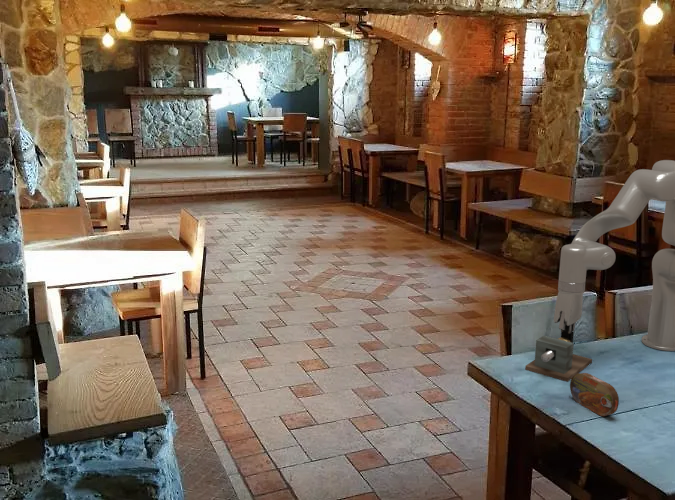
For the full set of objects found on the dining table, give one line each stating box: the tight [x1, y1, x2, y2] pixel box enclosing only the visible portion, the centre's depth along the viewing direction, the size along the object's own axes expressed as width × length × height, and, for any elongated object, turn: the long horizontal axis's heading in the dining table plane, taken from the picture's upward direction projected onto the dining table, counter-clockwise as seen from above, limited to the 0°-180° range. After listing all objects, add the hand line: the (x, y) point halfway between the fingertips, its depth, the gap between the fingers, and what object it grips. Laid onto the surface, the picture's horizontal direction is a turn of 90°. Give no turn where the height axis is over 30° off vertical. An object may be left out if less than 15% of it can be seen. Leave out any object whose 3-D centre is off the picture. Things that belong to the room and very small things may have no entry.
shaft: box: [541, 336, 570, 362], centre depth 199 cm, size 13×5×5 cm, turn 139°
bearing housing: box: [524, 335, 593, 383], centre depth 202 cm, size 18×13×9 cm
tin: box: [569, 372, 620, 417], centre depth 176 cm, size 15×3×8 cm, turn 23°
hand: (566, 343), depth 205 cm, fingers closed
